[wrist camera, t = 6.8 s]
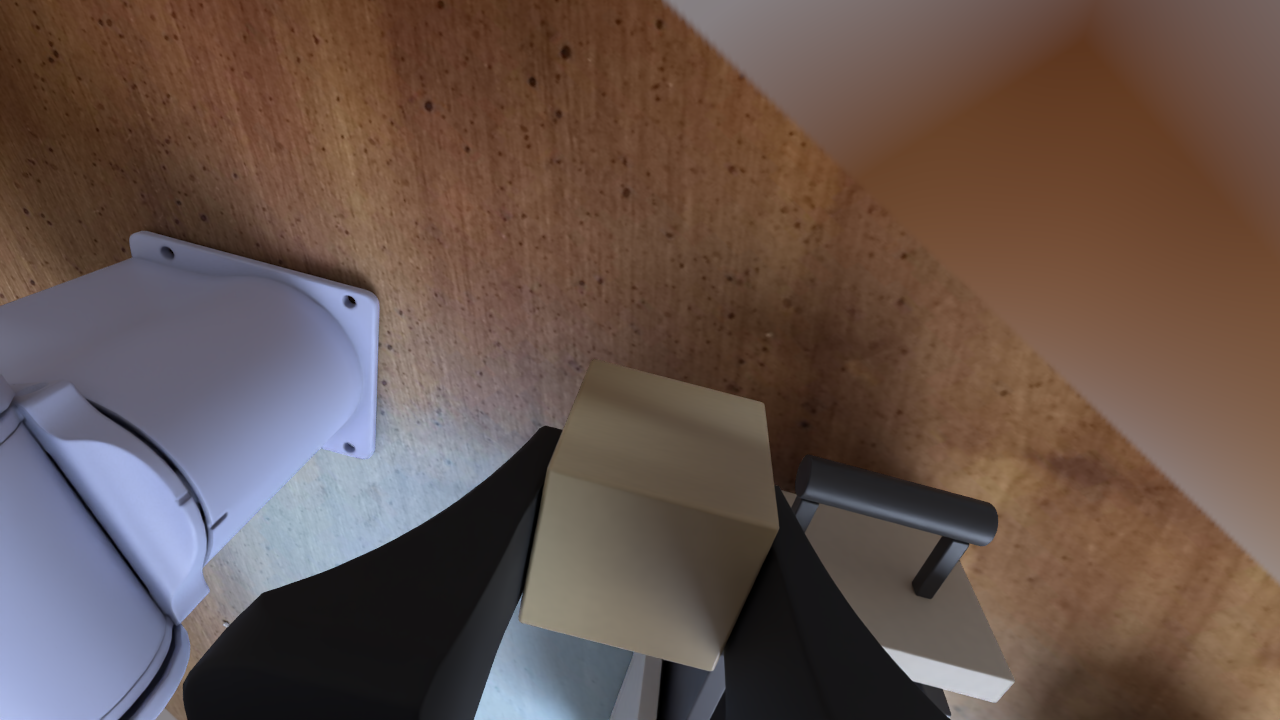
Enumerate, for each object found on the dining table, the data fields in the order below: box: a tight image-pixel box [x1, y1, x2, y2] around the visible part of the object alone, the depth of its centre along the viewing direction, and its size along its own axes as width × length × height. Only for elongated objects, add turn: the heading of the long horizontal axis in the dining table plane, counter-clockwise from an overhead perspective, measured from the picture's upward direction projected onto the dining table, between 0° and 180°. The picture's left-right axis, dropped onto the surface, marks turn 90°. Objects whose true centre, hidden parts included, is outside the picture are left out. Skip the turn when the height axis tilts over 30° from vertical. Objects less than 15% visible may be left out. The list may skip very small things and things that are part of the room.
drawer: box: [659, 455, 1015, 720], centre depth 23 cm, size 16×9×6 cm, turn 167°
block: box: [518, 359, 779, 671], centre depth 13 cm, size 4×4×4 cm
